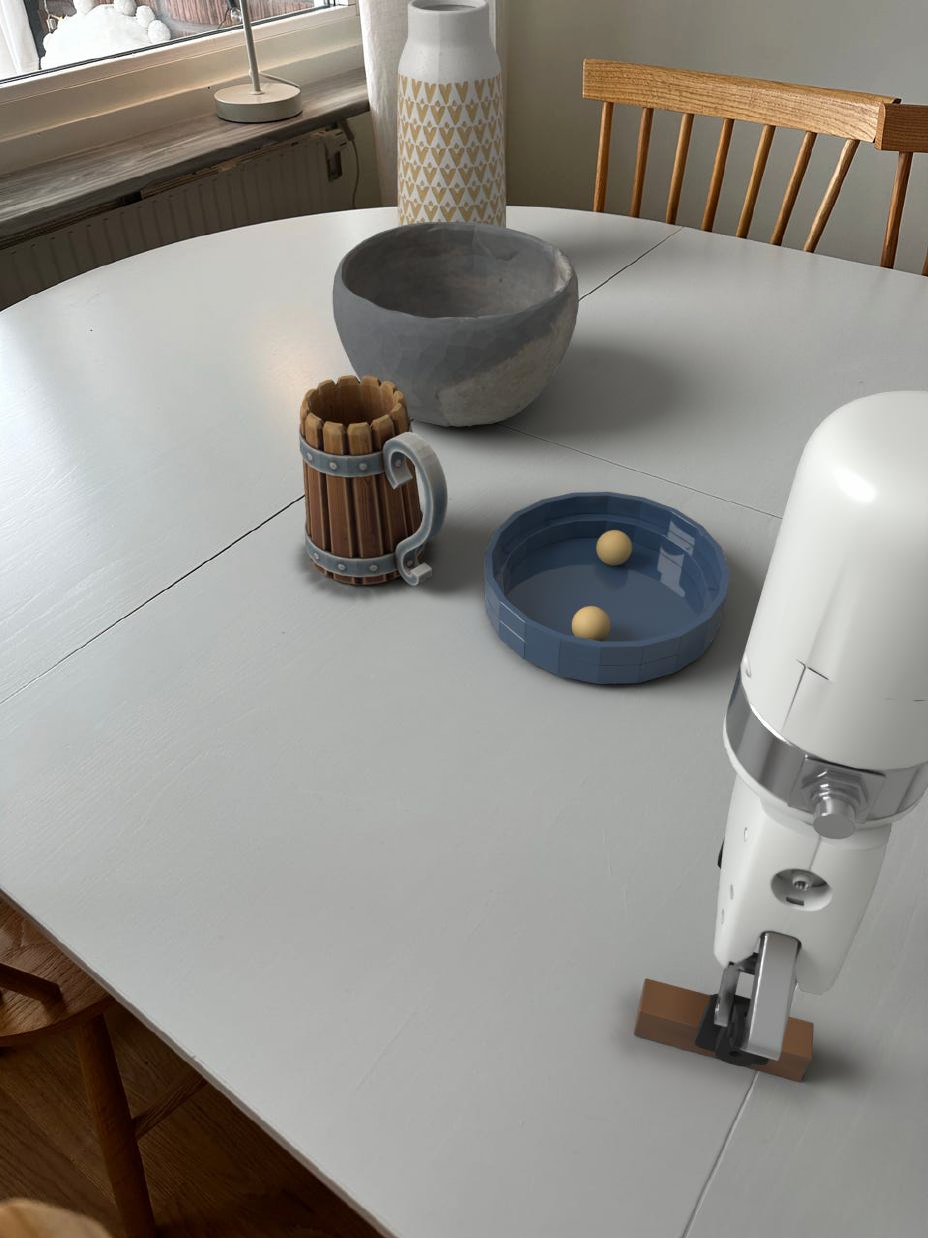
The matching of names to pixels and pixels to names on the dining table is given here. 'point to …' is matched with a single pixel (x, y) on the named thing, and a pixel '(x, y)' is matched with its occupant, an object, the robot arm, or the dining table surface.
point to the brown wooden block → (678, 1016)
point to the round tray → (605, 587)
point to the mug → (367, 483)
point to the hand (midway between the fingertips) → (739, 954)
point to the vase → (450, 117)
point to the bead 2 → (614, 547)
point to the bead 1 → (591, 624)
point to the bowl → (457, 317)
